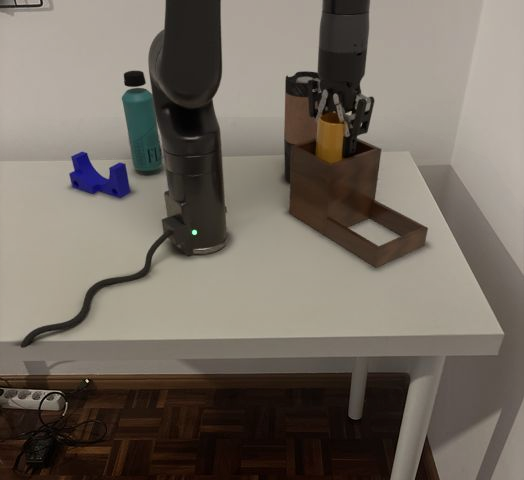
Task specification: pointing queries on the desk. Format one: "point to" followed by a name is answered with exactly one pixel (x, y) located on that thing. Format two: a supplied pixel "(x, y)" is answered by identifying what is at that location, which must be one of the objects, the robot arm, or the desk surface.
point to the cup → (330, 137)
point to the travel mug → (297, 114)
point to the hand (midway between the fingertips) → (335, 150)
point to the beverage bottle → (141, 123)
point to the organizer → (348, 202)
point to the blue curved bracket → (98, 177)
